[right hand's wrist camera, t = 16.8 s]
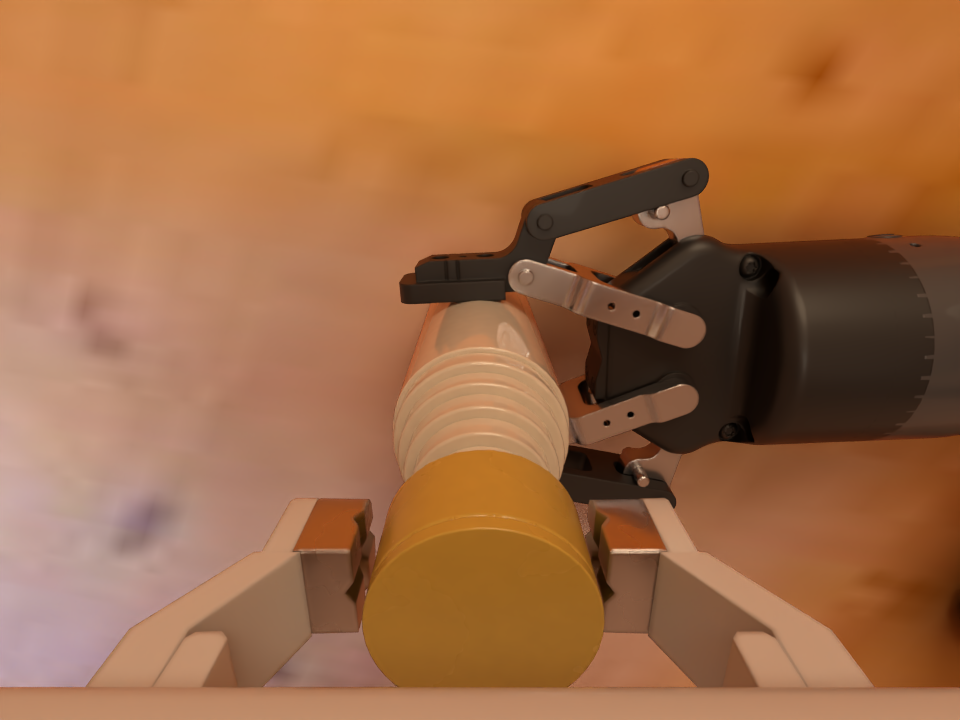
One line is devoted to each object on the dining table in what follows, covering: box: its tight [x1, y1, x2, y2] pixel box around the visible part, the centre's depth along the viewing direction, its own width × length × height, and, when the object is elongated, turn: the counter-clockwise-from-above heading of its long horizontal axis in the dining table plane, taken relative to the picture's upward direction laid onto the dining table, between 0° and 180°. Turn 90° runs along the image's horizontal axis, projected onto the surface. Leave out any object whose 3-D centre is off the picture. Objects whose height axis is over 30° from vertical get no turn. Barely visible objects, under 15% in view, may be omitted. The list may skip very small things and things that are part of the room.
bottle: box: [393, 292, 569, 483], centre depth 17 cm, size 5×5×18 cm
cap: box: [362, 450, 605, 687], centre depth 9 cm, size 4×4×2 cm
